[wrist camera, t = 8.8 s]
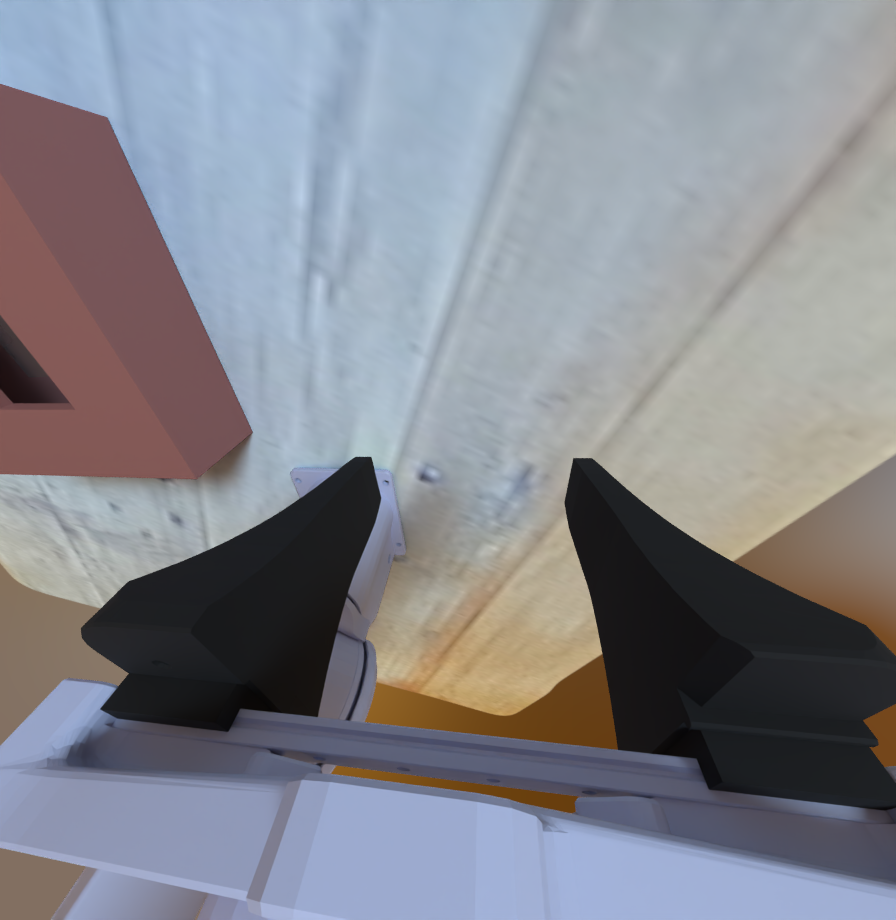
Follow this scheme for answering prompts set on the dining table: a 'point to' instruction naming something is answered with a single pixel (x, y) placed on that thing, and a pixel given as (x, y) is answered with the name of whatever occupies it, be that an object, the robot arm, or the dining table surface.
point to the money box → (97, 313)
